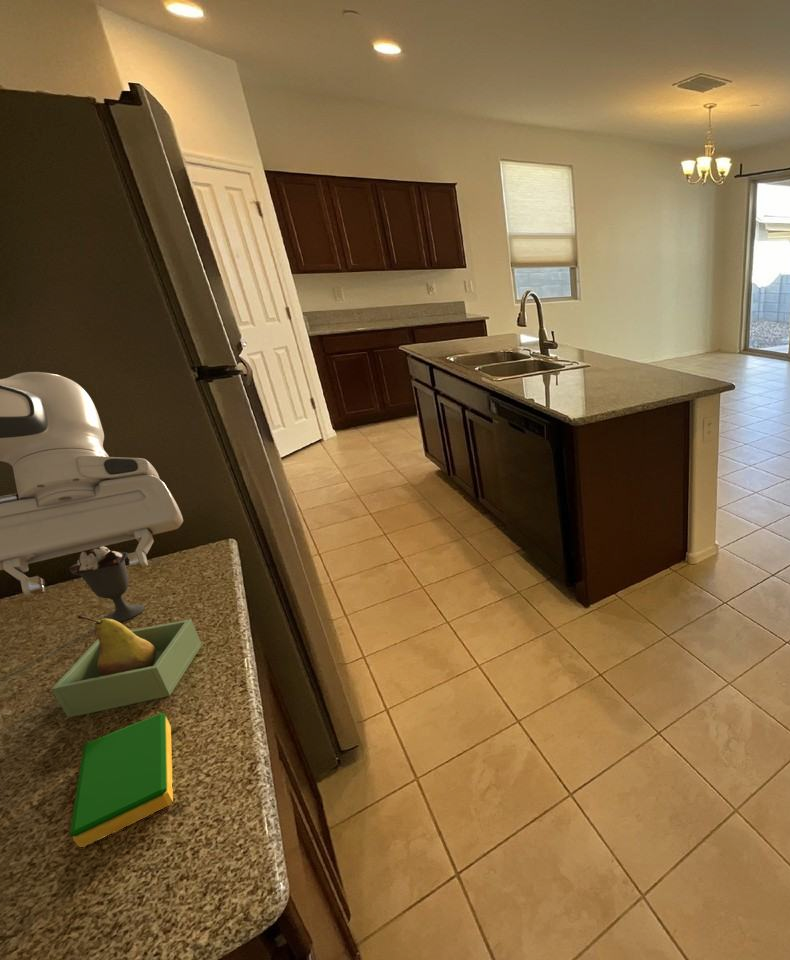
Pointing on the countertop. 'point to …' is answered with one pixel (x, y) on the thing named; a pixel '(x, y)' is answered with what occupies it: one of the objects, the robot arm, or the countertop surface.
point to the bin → (129, 672)
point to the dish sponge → (123, 779)
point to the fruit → (121, 648)
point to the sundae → (107, 579)
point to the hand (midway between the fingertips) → (89, 579)
